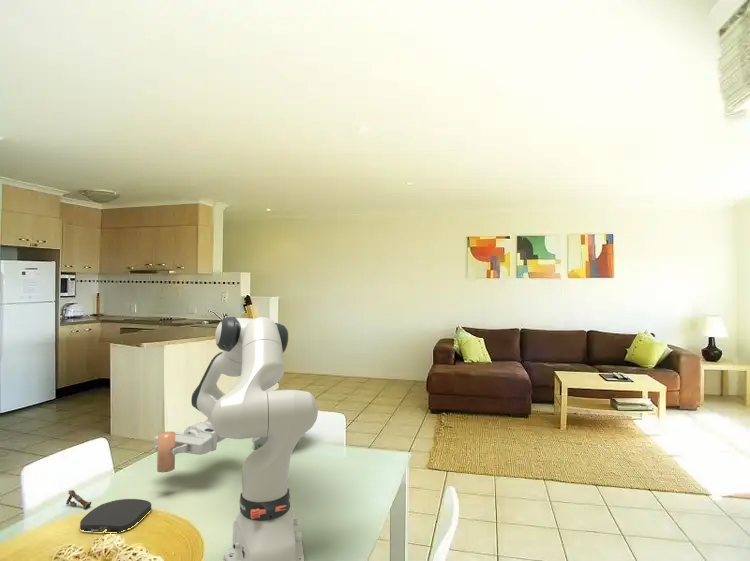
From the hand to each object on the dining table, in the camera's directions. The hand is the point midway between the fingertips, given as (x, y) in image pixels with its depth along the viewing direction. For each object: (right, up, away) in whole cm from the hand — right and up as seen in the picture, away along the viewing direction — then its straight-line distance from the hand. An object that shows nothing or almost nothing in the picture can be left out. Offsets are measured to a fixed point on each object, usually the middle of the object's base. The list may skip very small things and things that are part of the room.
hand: (164, 450), depth 138 cm
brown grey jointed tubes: (-22, -14, -8) cm, 27 cm away
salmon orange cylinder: (0, -6, +1) cm, 6 cm away
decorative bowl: (+33, -11, +47) cm, 58 cm away
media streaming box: (-6, -14, -15) cm, 21 cm away
